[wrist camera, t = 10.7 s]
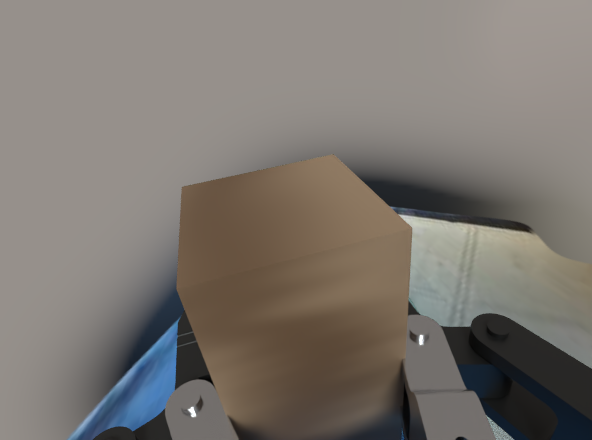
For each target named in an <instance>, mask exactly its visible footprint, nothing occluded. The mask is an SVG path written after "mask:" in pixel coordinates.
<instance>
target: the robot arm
mask: <svg viewBox="0 0 592 440" xmlns="http://www.w3.org/2000/svg"><path fill="white" fill-rule="evenodd" d="M177 335H178V338H177V358H176V383H175V391H174V392H173V393H172V395H171V396H170V398H169V399H168V401H167V404H166V408H165V409H164V410H163V411H162V412H161V413H160V414H159V415H158V416H156V417H155V418H154V419H152V420H150V421H149V422H147V423H146V424H144V425H143V426H141V427H139V428H138V429H136V430H135V431H133V432H132V431H131V430H130V429H129V428H126V427H114V428H110V429H108V430H106V431H104V432H102V433H100V434H99V435H98V436H96V437H95V438H94V439H93V440H239V439H238V437H237V435H236V432H235V430H234V428H233V426H232V424H231V422H230V420H229V417H228V415H226V414H225V412H224V409H223V406H222V404H221V401H220V399H219V396H218V394H217V391H216V389H215V386H214V383H213V381H212V378H211V376H210V373H209V371H208V368H207V366H206V363H205V360H204V358H203V355H202V353H201V350H200V348H199V345H198V343H197V340H196V337H195V335H194V332H193V330H192V327H191V325H190V322H189V320H188V317H187V314H186V312H185V310H184V312H183V314H182V316H181V318H180V320H179V322H178V333H177ZM402 375H403V379H404V396H403V405H402V406H400V420H401V425H402V430H403V434H404V439H405V440H496V438H495V436H494V434H493V431H492V429H491V426H490V424H489V422H488V419H487V417H486V415H487V416H488V417H489V418H490V419H491V420H493V421H494V422H495V423H496V424H497V425H498V426H499V427H501V428H502V429H503V430H504V431H505V432H506V433H508V434H509V435H510V436H511V437H512V438H513V439H514V440H592V369H591V368H589V367H588V366H586V365H585V364H583V363H581V362H580V361H578V360H576V359H575V358H573V357H571V356H570V355H568V354H567V353H565V352H563V351H562V350H560V349H558V348H557V347H555V346H554V345H552V344H550V343H549V342H547V341H545V340H544V339H542V338H540V337H539V336H537V335H536V334H534V333H532V332H531V331H529V330H527V329H526V328H524V327H523V326H521V325H519V324H518V323H516V322H514V321H513V320H511V319H509V318H507V317H505V316H502V315H498V314H491V313H489V314H482V315H479V316H477V317H476V318H474V320H473V321H472V324H471V327H444V326H440V325H439V324H438V323H437V322H436V321H434V320H433V319H431V318H429V317H426V316H422V315H420V314H419V313H418V312H417V310H416V309H415V308H414V307H413V305H412V304H411V303H410V301H409V300H408V319H407V338H406V358H404V359H402Z"/></svg>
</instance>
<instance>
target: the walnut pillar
mask: <svg viewBox="0 0 592 440" xmlns="http://www.w3.org/2000/svg"><path fill="white" fill-rule="evenodd" d="M411 243H412V227H411V226H410V225H409V224H407V223H406V222H405V221H404V220H403V219H402V218H401V217H400V216H399V215H398V214H397V213H396V212H395V211H394V210H392V209H391V208H390V207H389V206H388V205H387V204H386V203H385V202H384V201H383V200H382V199H380V197H379V196H377V195H376V194H375V193H374V192H373V191H372V190H371V189H370V188H369V187H368V186H367V185H366V184H365V183H364V182H362V181H361V180H360V179H359V178H358V177H357V176H356V175H355V174H354V173H353V172H352V171H351V170H350V169H349V168H348V167H346V166H345V165H344V164H343V163H342V162H341V161H340V160H339V159H338V158H337V157H335V155H334V154H333V155H328V156H323V157H319V158H314V159H309V160H305V161H301V162H295V163H291V164H286V165H282V166H277V167H272V168H268V169H263V170H258V171H254V172H249V173H244V174H240V175H235V176H231V177H226V178H222V179H216V180H212V181H207V182H203V183H198V184H193V185H189V186H184V187H182V194H181V214H180V233H179V251H178V270H177V291H178V294H179V296H180V299H181V302H182V304H183V307H184V309H185V312H186V314H187V317H188V320H189V322H190V325H191V327H192V330H193V332H194V335H195V337H196V340H197V343H198V345H199V348H200V350H201V353H202V355H203V358H204V360H205V363H206V366H207V368H208V371H209V373H210V376H211V378H212V381H213V383H214V386H215V389H216V391H217V394H218V396H219V399H220V401H221V404H222V406H223V409H224V412H225V414H226V415H228V417H229V420H230V422H231V424H232V426H233V428H234V430H235V432H236V435H237V437H238V439H239V440H401V434H402V425H401V420H400V406H402V405H403V396H404V379H403V375H402V359H404V358H406V338H407V319H408V300H409V281H410V262H411Z"/></svg>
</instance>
